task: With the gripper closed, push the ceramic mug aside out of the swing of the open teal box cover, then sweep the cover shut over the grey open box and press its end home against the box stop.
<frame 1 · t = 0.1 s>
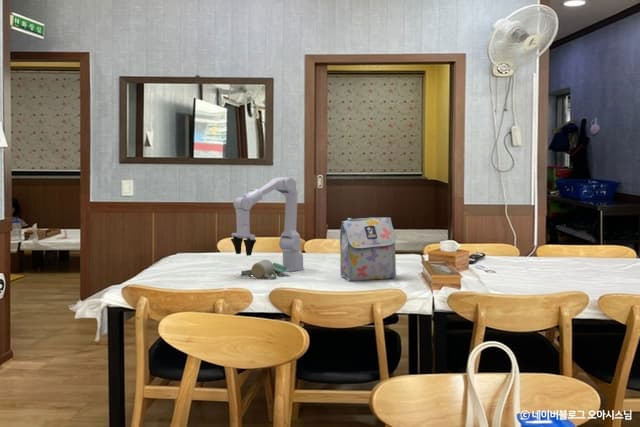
hand: (243, 254, 314), 10 cm above the table, tool pointing down, fingers open, 7 cm apart
cover: (278, 266, 322), point 3 cm above the table, hinge at 72.0°
lunch bag: (367, 278, 308), on the table
grey open box: (260, 273, 323), on the table
ceramic mug: (265, 278, 311), on the table
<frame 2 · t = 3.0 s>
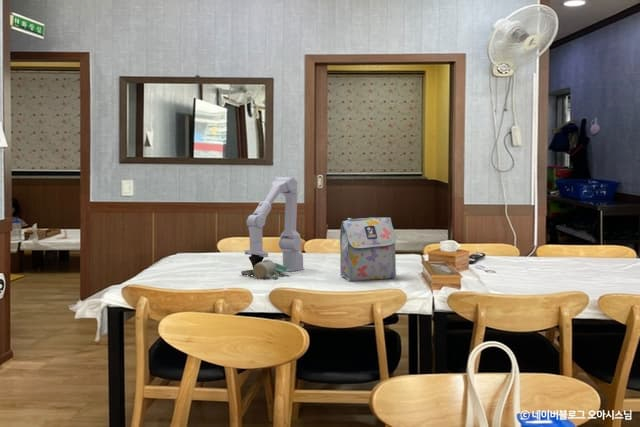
hand: (256, 271, 316), 2 cm above the table, tool pointing down, fingers closed
ceramic mug: (267, 278, 311), on the table, touching gripper
everything else where it was.
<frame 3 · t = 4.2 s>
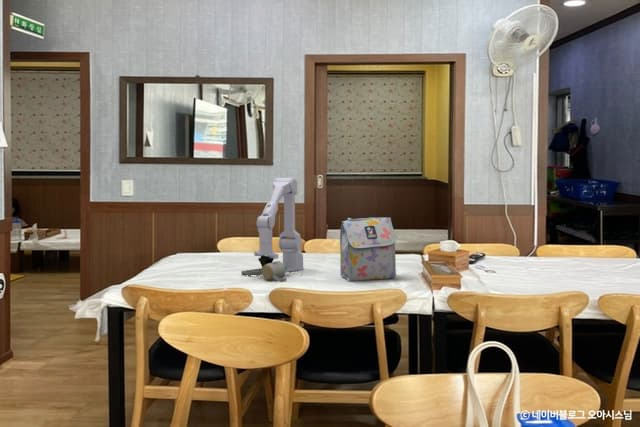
hand: (266, 273, 311), 2 cm above the table, tool pointing down, fingers closed
ceramic mug: (275, 280, 306), on the table, touching gripper
everything else where it was.
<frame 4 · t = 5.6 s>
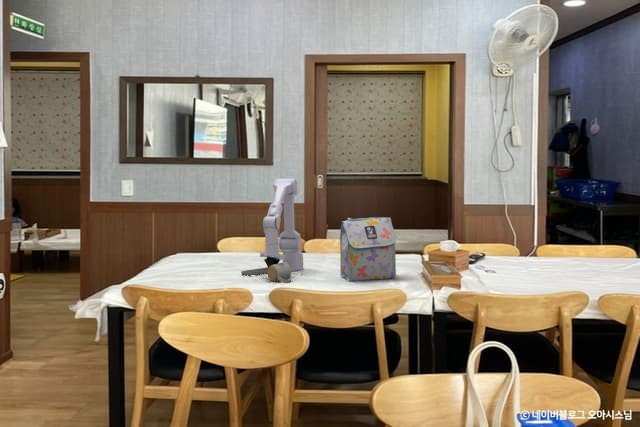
hand: (272, 274, 308), 2 cm above the table, tool pointing down, fingers closed
ceramic mug: (281, 281, 303), on the table, touching gripper
everything else where it was.
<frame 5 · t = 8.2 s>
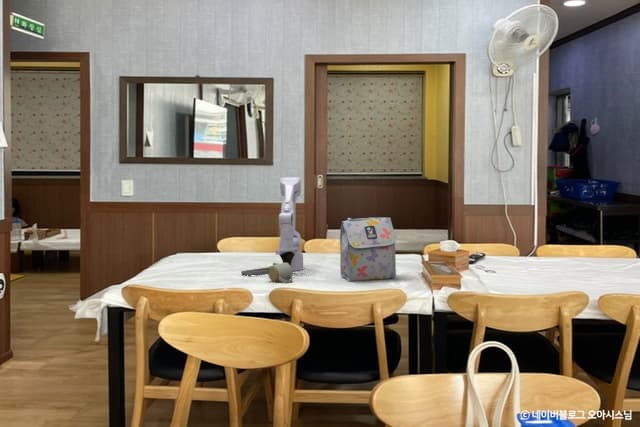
hand: (287, 268, 318), 3 cm above the table, tool pointing down, fingers closed
cover: (278, 266, 322), point 3 cm above the table, hinge at 71.9°, touching gripper
ceramic mug: (282, 282, 302), on the table
everything else where it was.
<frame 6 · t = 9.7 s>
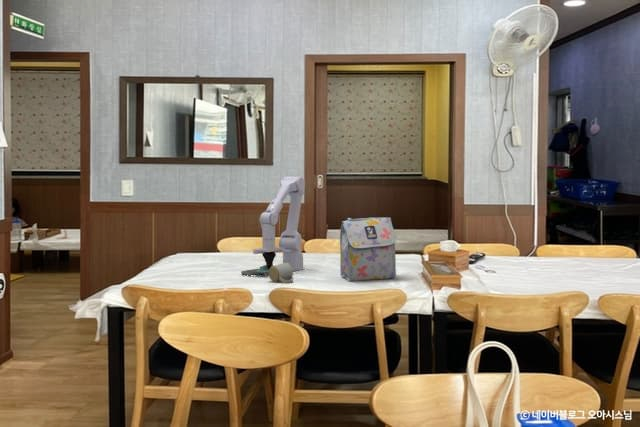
hand: (269, 268, 318), 3 cm above the table, tool pointing down, fingers closed
cover: (267, 267, 322), point 3 cm above the table, hinge at 29.9°, touching gripper
everything else where it was.
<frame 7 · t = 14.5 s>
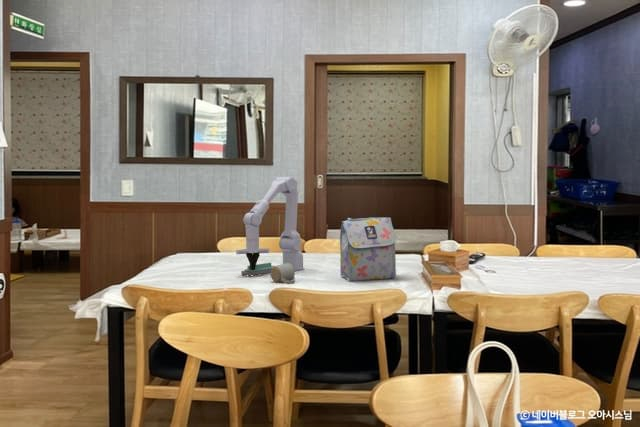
hand: (252, 269, 316), 3 cm above the table, tool pointing down, fingers closed
cover: (261, 266, 323), point 3 cm above the table, hinge at 3.1°, touching gripper
ceramic mug: (284, 282, 301), on the table
everything else where it was.
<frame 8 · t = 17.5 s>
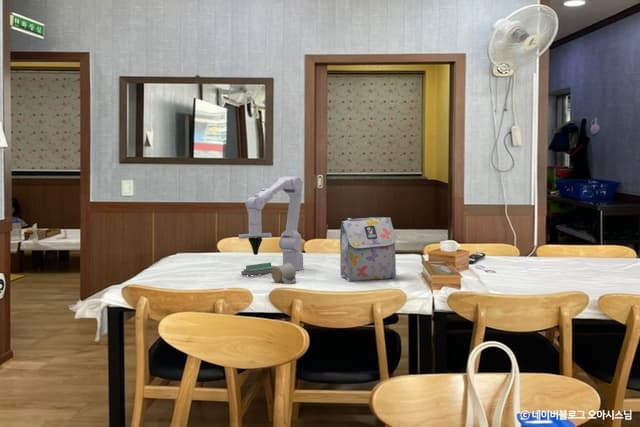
hand: (255, 254, 315), 10 cm above the table, tool pointing down, fingers closed
cover: (261, 266, 324), point 3 cm above the table, hinge at -1.1°
everything else where it was.
at the end: cover at -1° (first picture: +72°); ceramic mug inside the target area (0.5 cm from its centre), on the table; ceramic mug tilted 0° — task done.
